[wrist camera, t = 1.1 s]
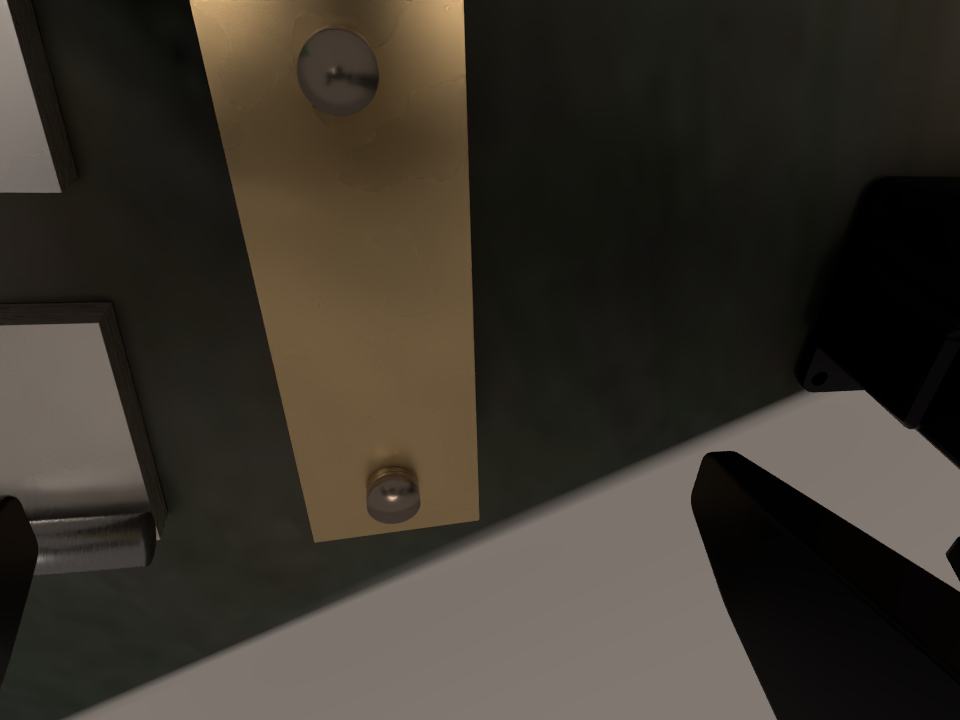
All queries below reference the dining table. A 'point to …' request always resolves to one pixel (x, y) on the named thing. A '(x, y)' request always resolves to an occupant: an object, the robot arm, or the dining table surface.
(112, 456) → the chain end
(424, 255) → the bar
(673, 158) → the dining table surface
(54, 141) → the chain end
